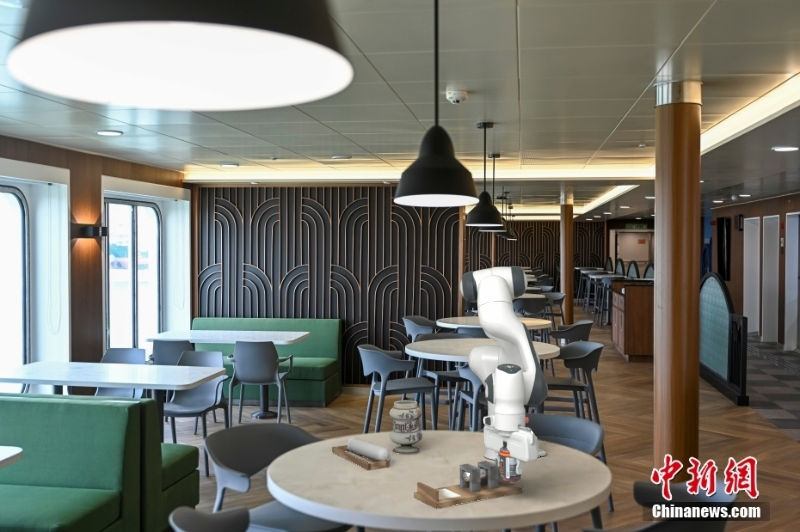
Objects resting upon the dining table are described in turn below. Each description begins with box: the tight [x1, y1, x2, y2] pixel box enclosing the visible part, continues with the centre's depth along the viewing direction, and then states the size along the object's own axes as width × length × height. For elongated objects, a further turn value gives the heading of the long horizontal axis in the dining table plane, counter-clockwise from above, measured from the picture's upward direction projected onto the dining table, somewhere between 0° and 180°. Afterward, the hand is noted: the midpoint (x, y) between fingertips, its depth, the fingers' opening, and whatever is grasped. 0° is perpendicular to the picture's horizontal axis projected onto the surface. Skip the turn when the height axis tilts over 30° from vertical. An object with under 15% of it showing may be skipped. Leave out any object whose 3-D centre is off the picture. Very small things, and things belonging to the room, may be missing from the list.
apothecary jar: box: [389, 399, 423, 455], centre depth 267 cm, size 12×12×18 cm
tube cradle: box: [331, 444, 390, 471], centre depth 256 cm, size 8×28×2 cm, turn 30°
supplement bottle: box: [499, 440, 522, 483], centre depth 209 cm, size 6×6×11 cm
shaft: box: [463, 458, 512, 483], centre depth 217 cm, size 15×6×6 cm, turn 120°
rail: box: [413, 460, 523, 510], centre depth 214 cm, size 30×12×8 cm, turn 120°
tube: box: [346, 436, 391, 461], centre depth 257 cm, size 5×5×25 cm
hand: (510, 470), depth 209 cm, fingers closed on supplement bottle, 6 cm apart
